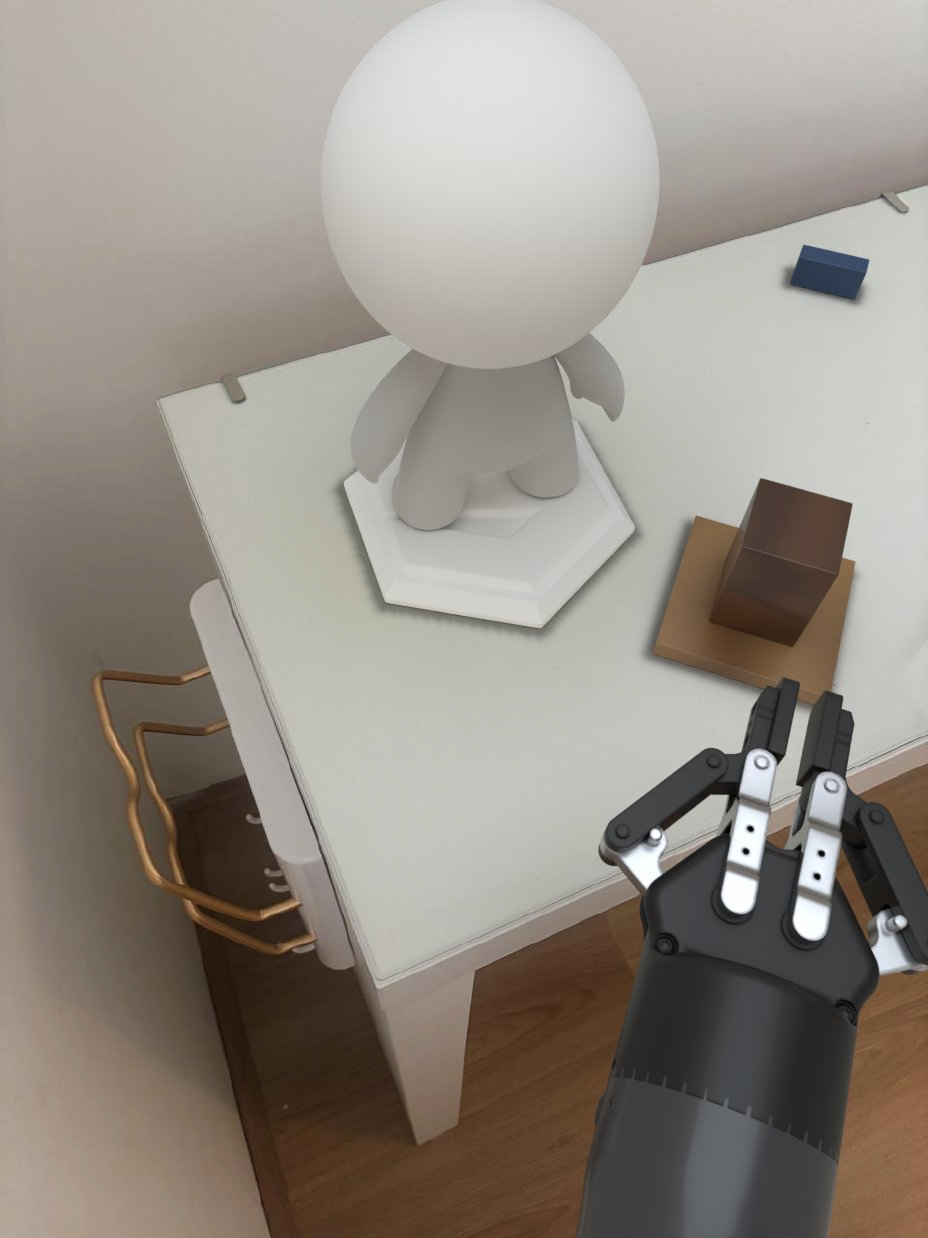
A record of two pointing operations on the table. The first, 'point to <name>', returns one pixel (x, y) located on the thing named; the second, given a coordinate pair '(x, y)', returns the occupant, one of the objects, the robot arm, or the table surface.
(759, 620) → the block
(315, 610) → the table surface
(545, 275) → the big headed doll
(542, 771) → the table surface
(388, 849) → the table surface
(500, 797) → the table surface
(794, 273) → the blue rectangular block
